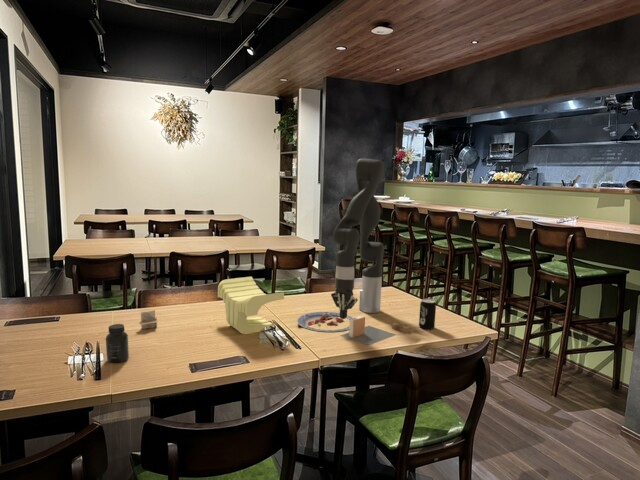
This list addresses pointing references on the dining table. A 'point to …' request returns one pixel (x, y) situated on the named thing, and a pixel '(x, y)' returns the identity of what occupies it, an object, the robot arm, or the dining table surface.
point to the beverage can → (427, 314)
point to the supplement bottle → (117, 344)
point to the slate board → (370, 336)
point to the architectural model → (148, 319)
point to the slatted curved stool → (245, 303)
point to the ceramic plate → (321, 320)
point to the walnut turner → (401, 327)
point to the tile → (357, 326)
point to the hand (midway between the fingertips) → (343, 318)
